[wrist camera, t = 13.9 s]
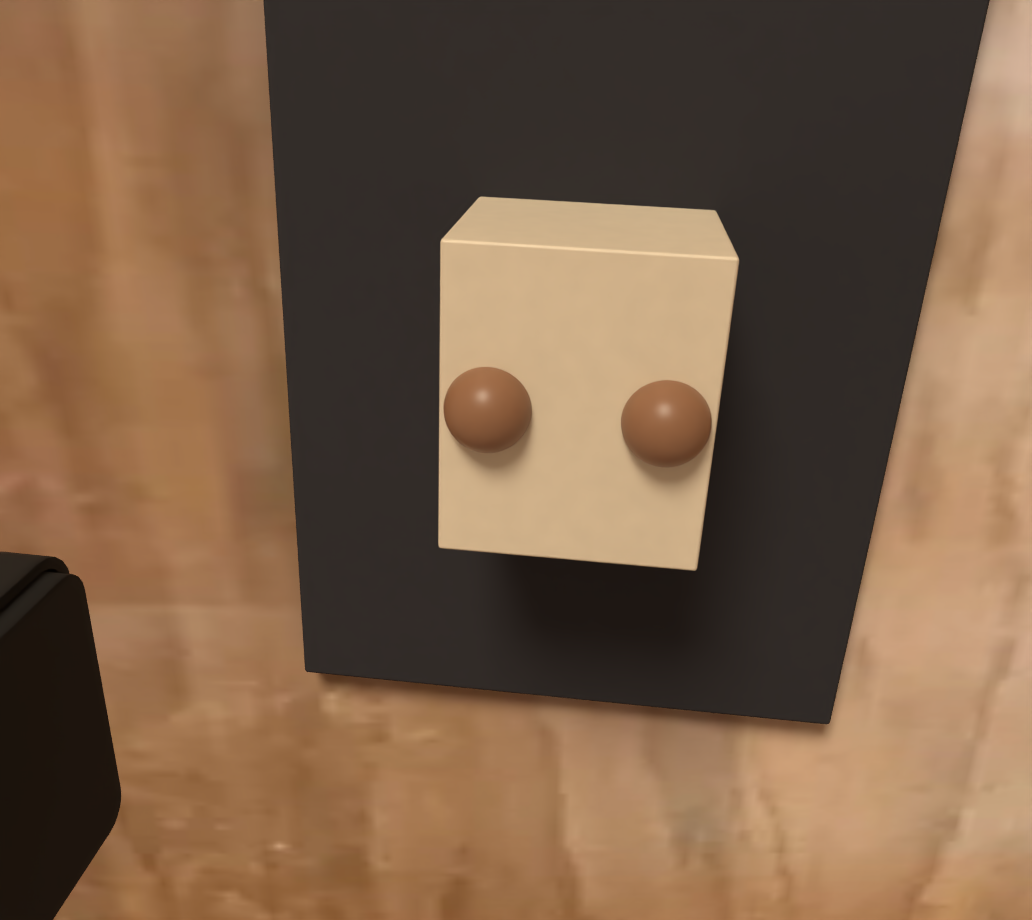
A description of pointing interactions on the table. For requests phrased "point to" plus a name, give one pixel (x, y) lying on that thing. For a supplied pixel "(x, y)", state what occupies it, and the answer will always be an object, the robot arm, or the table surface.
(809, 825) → the table surface
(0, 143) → the table surface
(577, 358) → the cream wooden brick
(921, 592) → the table surface
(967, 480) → the table surface
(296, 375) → the mat
